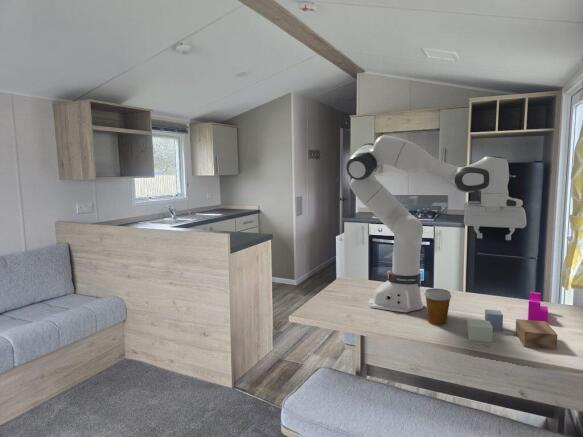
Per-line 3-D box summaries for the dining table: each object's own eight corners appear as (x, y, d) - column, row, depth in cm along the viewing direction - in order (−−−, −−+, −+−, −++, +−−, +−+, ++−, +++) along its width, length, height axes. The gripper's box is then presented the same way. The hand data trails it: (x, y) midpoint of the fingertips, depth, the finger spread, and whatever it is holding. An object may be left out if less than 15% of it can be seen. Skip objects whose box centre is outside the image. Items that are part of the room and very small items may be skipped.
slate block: (486, 330, 143) (487, 313, 142) (484, 325, 147) (485, 309, 147) (502, 331, 141) (503, 315, 141) (499, 326, 146) (500, 310, 145)
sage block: (469, 340, 134) (469, 326, 134) (467, 332, 141) (467, 319, 140) (492, 342, 132) (492, 328, 132) (489, 334, 139) (489, 320, 138)
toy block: (547, 323, 149) (548, 303, 148) (527, 320, 152) (528, 301, 151) (547, 311, 161) (548, 293, 160) (529, 309, 165) (529, 291, 164)
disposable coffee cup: (453, 327, 145) (454, 295, 144) (426, 326, 147) (426, 294, 146) (448, 318, 155) (448, 288, 154) (422, 317, 156) (422, 287, 155)
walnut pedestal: (524, 346, 128) (524, 331, 128) (515, 333, 139) (516, 319, 139) (556, 349, 125) (557, 334, 125) (545, 335, 137) (545, 321, 136)
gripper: (461, 201, 148) (461, 238, 149) (525, 201, 136) (524, 242, 137) (466, 200, 153) (465, 236, 154) (527, 201, 141) (526, 239, 142)
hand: (493, 239), depth 145 cm, fingers open, 8 cm apart
